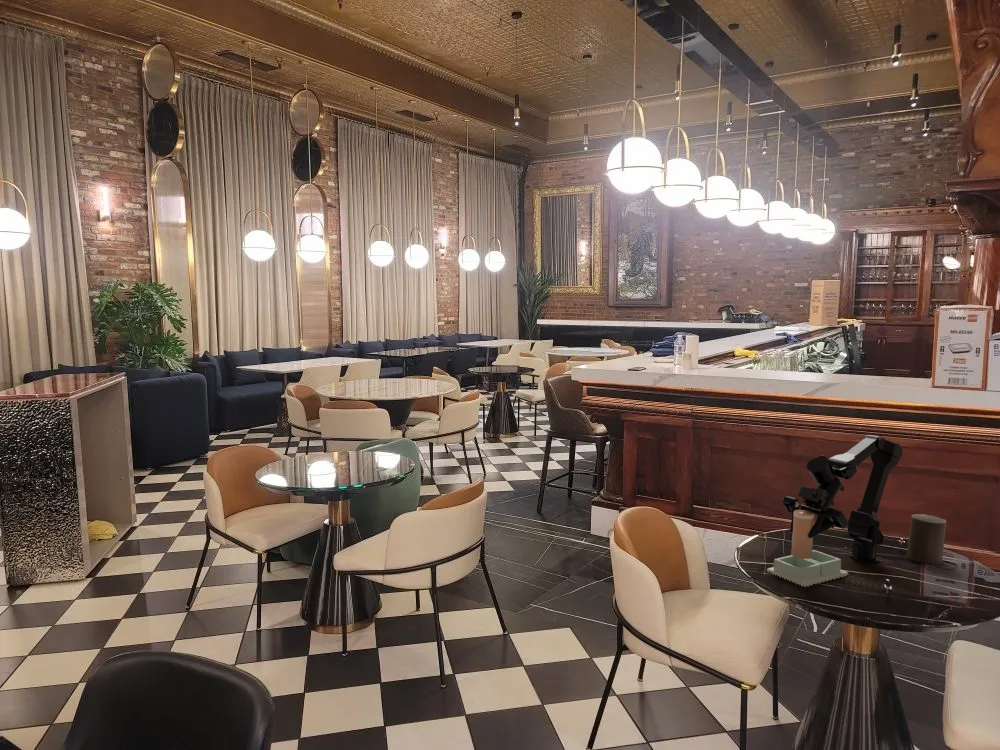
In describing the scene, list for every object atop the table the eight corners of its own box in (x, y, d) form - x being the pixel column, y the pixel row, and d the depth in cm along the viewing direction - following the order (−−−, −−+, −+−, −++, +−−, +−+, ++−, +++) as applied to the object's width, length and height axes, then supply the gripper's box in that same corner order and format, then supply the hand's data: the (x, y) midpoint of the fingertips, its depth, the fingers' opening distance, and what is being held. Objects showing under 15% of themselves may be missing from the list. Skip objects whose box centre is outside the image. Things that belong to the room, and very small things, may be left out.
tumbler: (811, 554, 205) (814, 511, 204) (811, 560, 200) (814, 516, 199) (791, 551, 207) (793, 508, 206) (791, 557, 202) (793, 513, 201)
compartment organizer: (809, 561, 218) (810, 547, 218) (848, 575, 207) (849, 560, 207) (767, 571, 209) (767, 557, 208) (804, 587, 197) (805, 571, 197)
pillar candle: (915, 563, 219) (920, 517, 217) (901, 553, 228) (906, 508, 227) (948, 566, 217) (953, 520, 216) (933, 555, 227) (937, 511, 226)
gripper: (786, 470, 212) (761, 510, 207) (844, 483, 196) (818, 527, 191) (801, 491, 216) (776, 531, 212) (858, 507, 201) (833, 550, 196)
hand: (799, 534), depth 202 cm, fingers closed on tumbler, 5 cm apart
